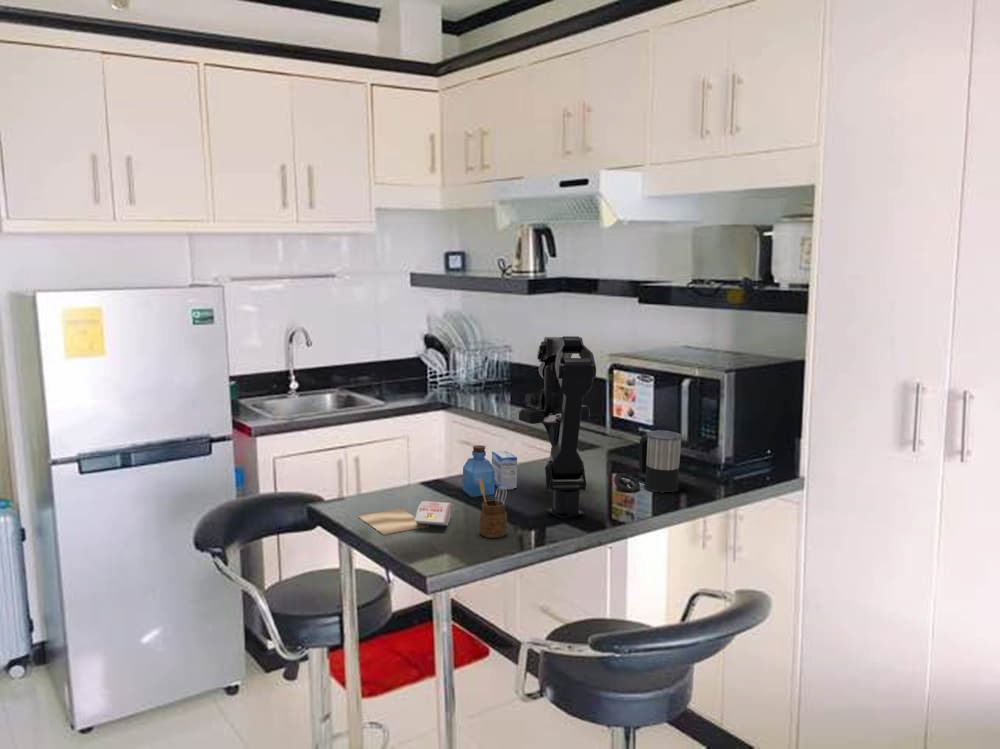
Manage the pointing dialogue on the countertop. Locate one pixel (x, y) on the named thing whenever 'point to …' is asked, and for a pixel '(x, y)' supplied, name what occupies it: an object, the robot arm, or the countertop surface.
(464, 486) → the perfume bottle
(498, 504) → the utensil holder
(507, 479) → the medicine box
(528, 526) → the countertop surface
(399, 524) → the cork mat
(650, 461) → the milk frother
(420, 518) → the small cardboard carton
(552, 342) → the robot arm
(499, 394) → the countertop surface
